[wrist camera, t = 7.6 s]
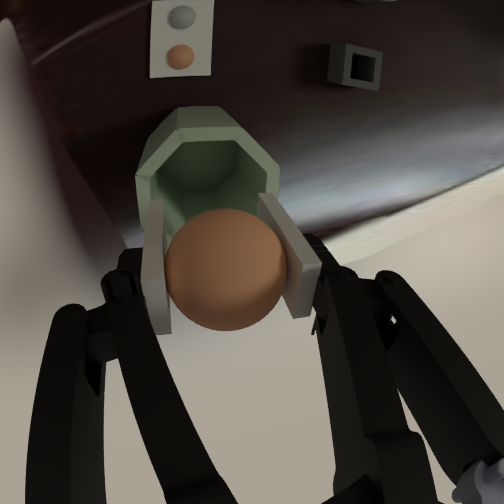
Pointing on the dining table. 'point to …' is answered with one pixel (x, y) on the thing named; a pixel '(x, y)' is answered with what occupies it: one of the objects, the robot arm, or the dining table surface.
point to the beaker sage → (202, 167)
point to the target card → (181, 38)
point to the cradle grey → (370, 1)
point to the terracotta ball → (225, 269)
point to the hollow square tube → (365, 70)
